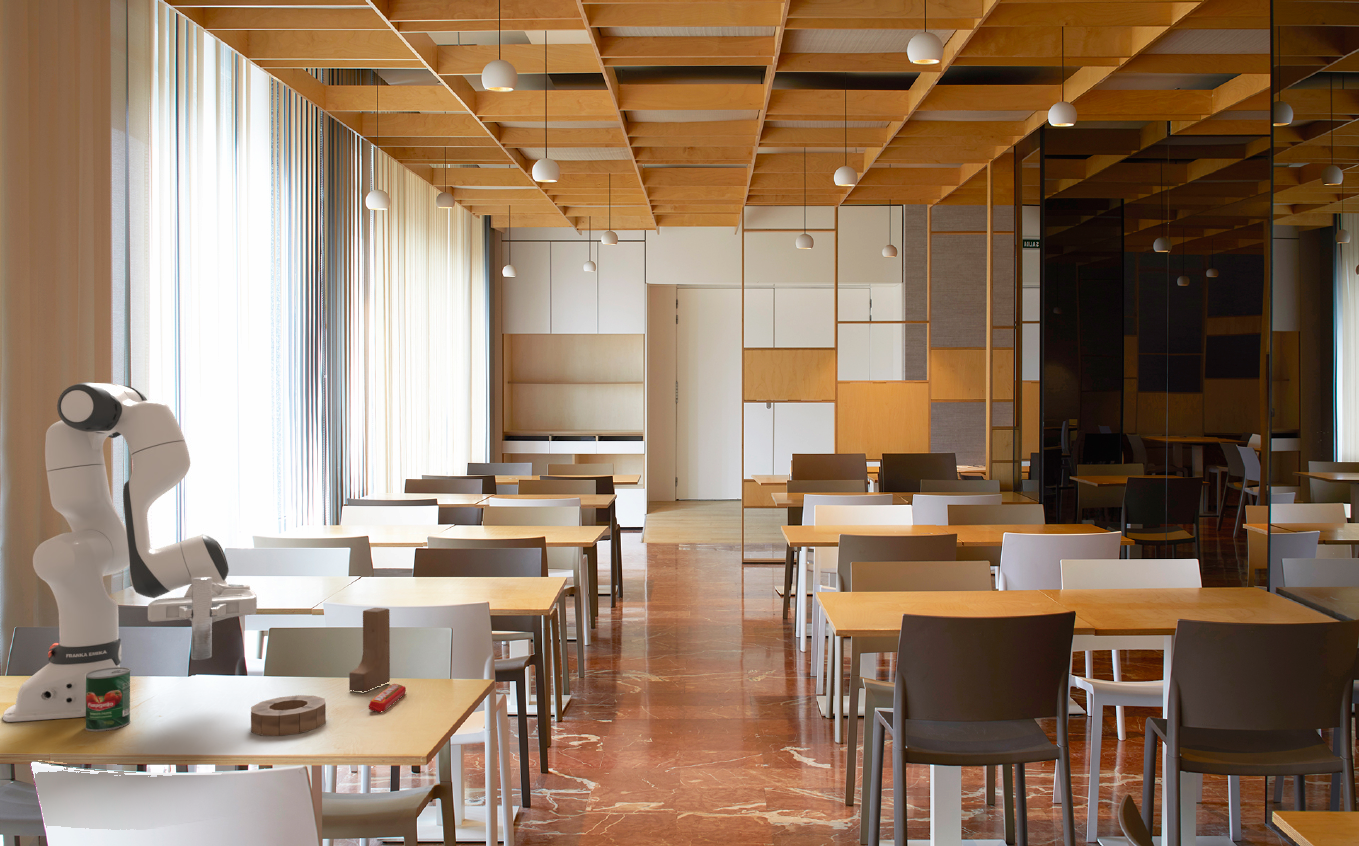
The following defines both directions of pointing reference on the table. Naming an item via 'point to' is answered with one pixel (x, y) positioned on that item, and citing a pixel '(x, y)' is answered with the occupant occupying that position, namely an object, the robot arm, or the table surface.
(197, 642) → the steel peg
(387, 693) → the candy bar
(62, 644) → the robot arm
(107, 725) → the canned tomato
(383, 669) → the wooden block
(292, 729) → the walnut ring
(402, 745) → the table surface
